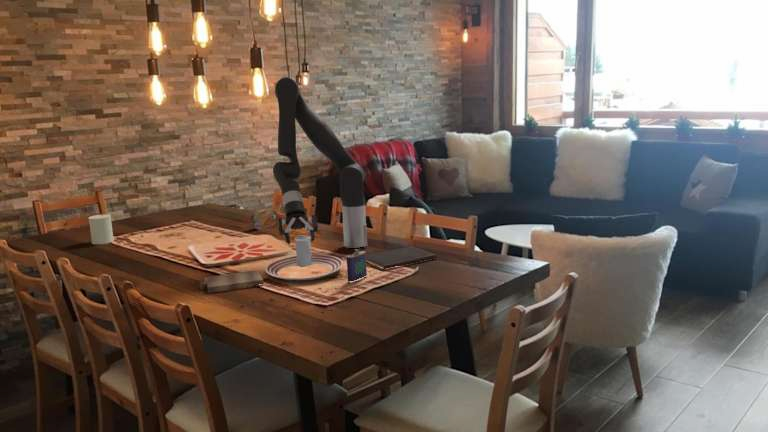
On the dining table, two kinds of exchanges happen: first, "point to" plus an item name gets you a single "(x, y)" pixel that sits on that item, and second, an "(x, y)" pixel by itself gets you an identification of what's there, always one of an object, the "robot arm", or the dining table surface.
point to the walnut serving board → (231, 281)
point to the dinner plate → (316, 259)
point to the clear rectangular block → (263, 219)
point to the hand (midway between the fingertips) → (300, 241)
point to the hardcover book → (399, 257)
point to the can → (101, 229)
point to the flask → (356, 265)
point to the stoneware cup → (303, 250)
